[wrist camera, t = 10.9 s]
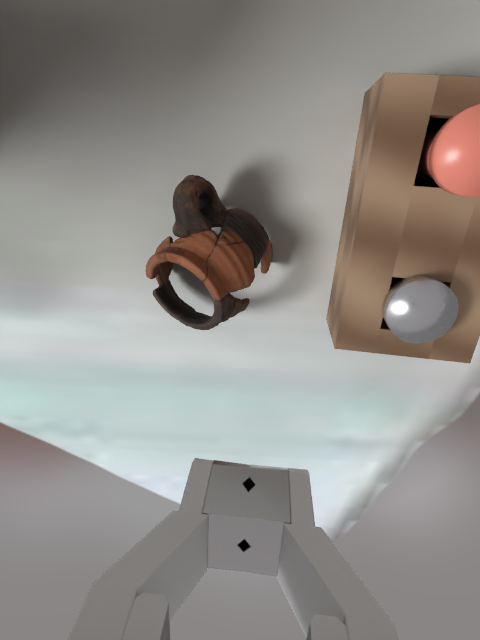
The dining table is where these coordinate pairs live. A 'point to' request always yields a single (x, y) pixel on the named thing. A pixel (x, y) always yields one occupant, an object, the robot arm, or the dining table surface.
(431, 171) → the red plug
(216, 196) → the pottery mug
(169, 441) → the dining table surface
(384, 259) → the walnut plug panel
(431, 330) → the steel plug
